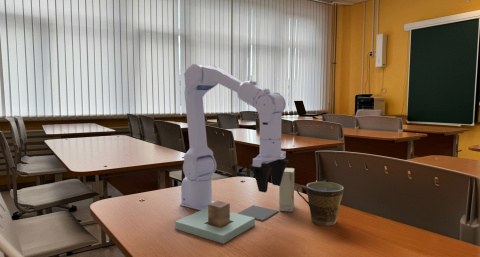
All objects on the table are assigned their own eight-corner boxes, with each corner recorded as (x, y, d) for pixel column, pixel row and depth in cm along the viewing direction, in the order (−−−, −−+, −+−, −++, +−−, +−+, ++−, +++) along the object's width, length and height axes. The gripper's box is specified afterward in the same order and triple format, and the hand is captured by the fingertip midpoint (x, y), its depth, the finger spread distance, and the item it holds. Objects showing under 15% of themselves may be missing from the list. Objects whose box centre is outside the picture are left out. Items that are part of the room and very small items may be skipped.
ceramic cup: (345, 218, 97) (346, 184, 96) (338, 231, 89) (339, 193, 88) (301, 211, 104) (302, 178, 102) (290, 222, 95) (291, 187, 94)
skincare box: (293, 212, 103) (293, 172, 101) (278, 211, 103) (279, 171, 102) (294, 205, 109) (294, 167, 108) (280, 204, 110) (280, 167, 108)
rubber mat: (236, 214, 101) (236, 213, 100) (253, 206, 108) (253, 205, 108) (262, 221, 95) (263, 219, 95) (278, 212, 103) (278, 210, 103)
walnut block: (208, 230, 89) (208, 204, 88) (217, 225, 92) (217, 200, 92) (220, 234, 87) (220, 207, 86) (229, 229, 90) (229, 203, 89)
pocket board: (175, 228, 90) (175, 221, 90) (209, 213, 102) (209, 206, 102) (223, 243, 81) (223, 235, 81) (254, 224, 93) (254, 217, 93)
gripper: (270, 143, 83) (269, 197, 85) (295, 136, 95) (294, 184, 96) (245, 140, 87) (245, 192, 89) (273, 134, 99) (272, 180, 100)
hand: (269, 188), depth 93 cm, fingers open, 7 cm apart
